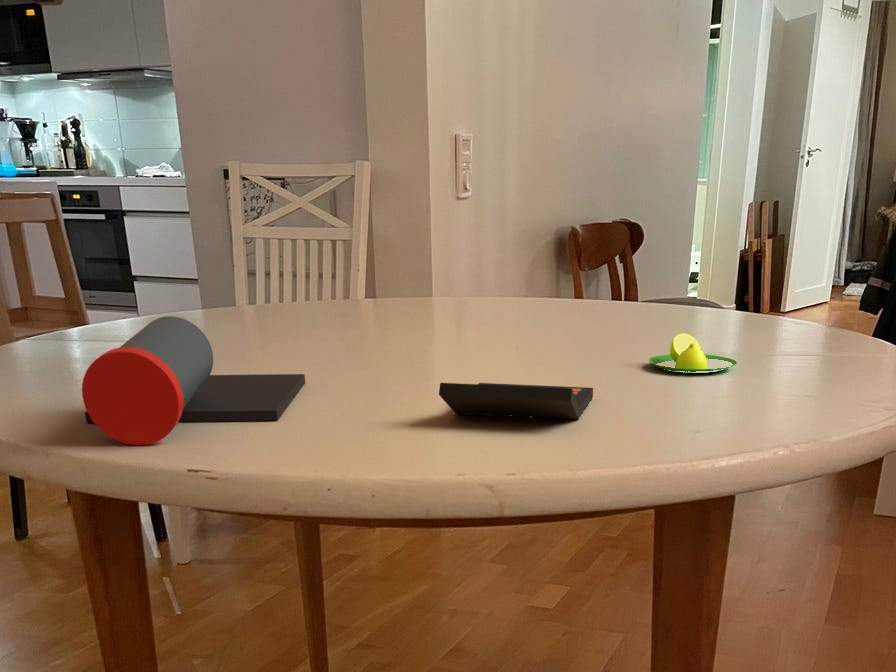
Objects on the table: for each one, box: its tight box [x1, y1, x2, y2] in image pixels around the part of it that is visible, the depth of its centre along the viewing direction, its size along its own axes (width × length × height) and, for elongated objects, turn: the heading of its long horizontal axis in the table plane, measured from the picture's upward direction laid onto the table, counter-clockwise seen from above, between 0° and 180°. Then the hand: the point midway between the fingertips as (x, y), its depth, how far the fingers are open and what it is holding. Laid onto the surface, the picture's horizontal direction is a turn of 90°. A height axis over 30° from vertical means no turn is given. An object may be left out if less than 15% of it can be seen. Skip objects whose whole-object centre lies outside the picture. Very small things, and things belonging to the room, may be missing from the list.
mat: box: [84, 373, 306, 424], centre depth 73 cm, size 14×14×1 cm
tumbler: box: [81, 315, 214, 446], centre depth 65 cm, size 6×6×12 cm
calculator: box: [438, 382, 594, 420], centre depth 69 cm, size 9×12×3 cm
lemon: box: [648, 333, 738, 372], centre depth 84 cm, size 8×8×3 cm
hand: (47, 3), depth 75 cm, fingers closed
